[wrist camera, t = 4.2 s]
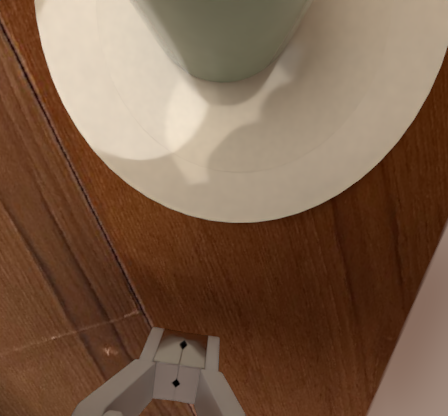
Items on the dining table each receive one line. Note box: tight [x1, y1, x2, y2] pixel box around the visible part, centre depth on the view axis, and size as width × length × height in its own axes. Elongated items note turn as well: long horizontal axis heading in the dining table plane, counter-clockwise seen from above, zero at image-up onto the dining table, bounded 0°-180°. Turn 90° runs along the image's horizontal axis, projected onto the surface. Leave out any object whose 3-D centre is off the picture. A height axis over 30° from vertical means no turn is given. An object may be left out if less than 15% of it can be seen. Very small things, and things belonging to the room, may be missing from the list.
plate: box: [35, 0, 448, 223], centre depth 11 cm, size 18×18×2 cm
